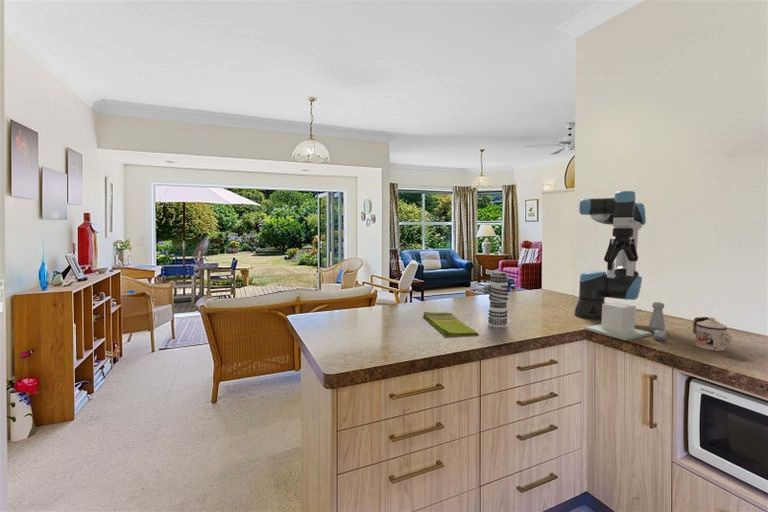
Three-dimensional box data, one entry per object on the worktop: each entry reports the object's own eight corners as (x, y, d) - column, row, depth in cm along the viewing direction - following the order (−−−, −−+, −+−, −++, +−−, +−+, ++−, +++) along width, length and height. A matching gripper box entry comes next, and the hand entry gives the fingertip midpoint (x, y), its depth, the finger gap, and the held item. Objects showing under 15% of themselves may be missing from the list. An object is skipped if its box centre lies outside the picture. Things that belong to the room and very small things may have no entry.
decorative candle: (506, 323, 182) (508, 271, 180) (509, 328, 173) (511, 273, 171) (486, 322, 183) (488, 270, 181) (488, 327, 174) (490, 273, 172)
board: (584, 329, 171) (585, 327, 171) (610, 325, 179) (610, 322, 179) (625, 340, 155) (625, 337, 155) (651, 335, 163) (651, 332, 163)
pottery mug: (727, 338, 162) (723, 322, 159) (704, 346, 163) (700, 331, 161) (705, 323, 173) (701, 309, 171) (684, 331, 175) (680, 317, 172)
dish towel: (451, 316, 197) (451, 310, 196) (479, 336, 161) (479, 329, 161) (422, 317, 194) (422, 311, 194) (444, 338, 159) (444, 330, 159)
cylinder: (651, 339, 156) (652, 330, 156) (657, 338, 158) (657, 329, 158) (662, 342, 153) (663, 332, 153) (668, 341, 155) (668, 331, 154)
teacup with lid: (688, 344, 150) (690, 315, 149) (707, 343, 152) (709, 314, 151) (720, 354, 138) (723, 323, 137) (740, 353, 140) (743, 322, 139)
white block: (601, 328, 169) (602, 303, 168) (613, 326, 173) (615, 302, 172) (621, 333, 161) (622, 307, 160) (634, 330, 165) (635, 305, 164)
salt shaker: (663, 330, 170) (665, 302, 169) (666, 334, 165) (668, 304, 164) (647, 329, 172) (649, 301, 171) (650, 332, 167) (651, 303, 166)
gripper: (613, 227, 155) (610, 279, 156) (649, 227, 166) (646, 276, 168) (596, 227, 161) (593, 277, 163) (631, 227, 172) (628, 274, 174)
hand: (620, 276), depth 165 cm, fingers open, 13 cm apart
